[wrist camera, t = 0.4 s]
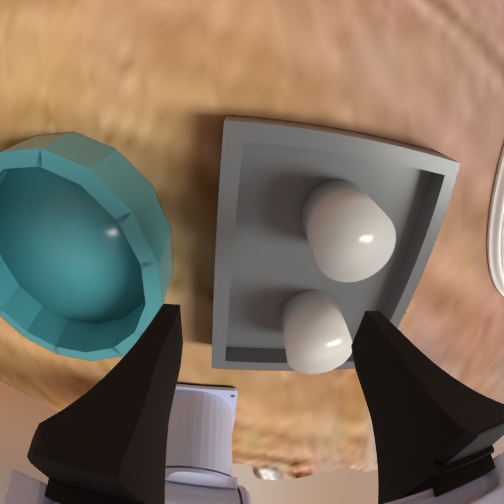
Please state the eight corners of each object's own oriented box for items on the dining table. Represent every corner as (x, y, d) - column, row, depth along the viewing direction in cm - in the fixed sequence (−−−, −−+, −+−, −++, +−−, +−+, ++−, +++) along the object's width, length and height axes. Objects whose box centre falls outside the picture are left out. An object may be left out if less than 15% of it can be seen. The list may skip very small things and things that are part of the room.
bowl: (177, 334, 25) (170, 372, 21) (20, 311, 23) (2, 340, 20) (172, 129, 16) (154, 143, 13) (-23, 144, 15) (-57, 161, 12)
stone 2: (330, 333, 24) (342, 372, 21) (276, 333, 24) (281, 374, 20) (345, 290, 22) (362, 329, 18) (285, 288, 21) (294, 329, 18)
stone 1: (359, 247, 20) (381, 283, 16) (294, 242, 19) (306, 280, 16) (376, 184, 18) (406, 211, 14) (307, 174, 17) (324, 201, 14)
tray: (368, 346, 27) (376, 367, 25) (213, 345, 25) (211, 368, 23) (439, 152, 17) (460, 163, 15) (226, 114, 16) (224, 120, 14)
